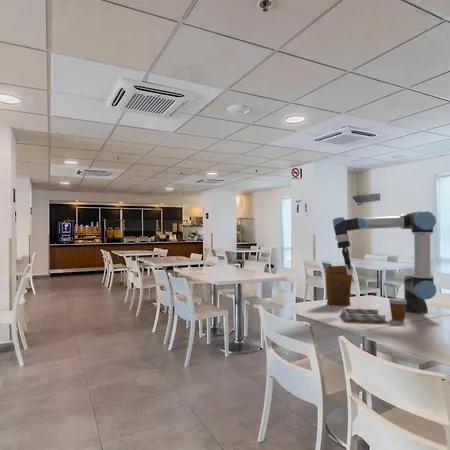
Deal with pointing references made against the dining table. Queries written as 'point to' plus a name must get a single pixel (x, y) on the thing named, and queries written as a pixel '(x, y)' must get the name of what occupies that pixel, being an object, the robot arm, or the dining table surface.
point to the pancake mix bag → (338, 285)
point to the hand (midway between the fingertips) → (350, 274)
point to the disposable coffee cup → (397, 308)
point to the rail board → (362, 315)
